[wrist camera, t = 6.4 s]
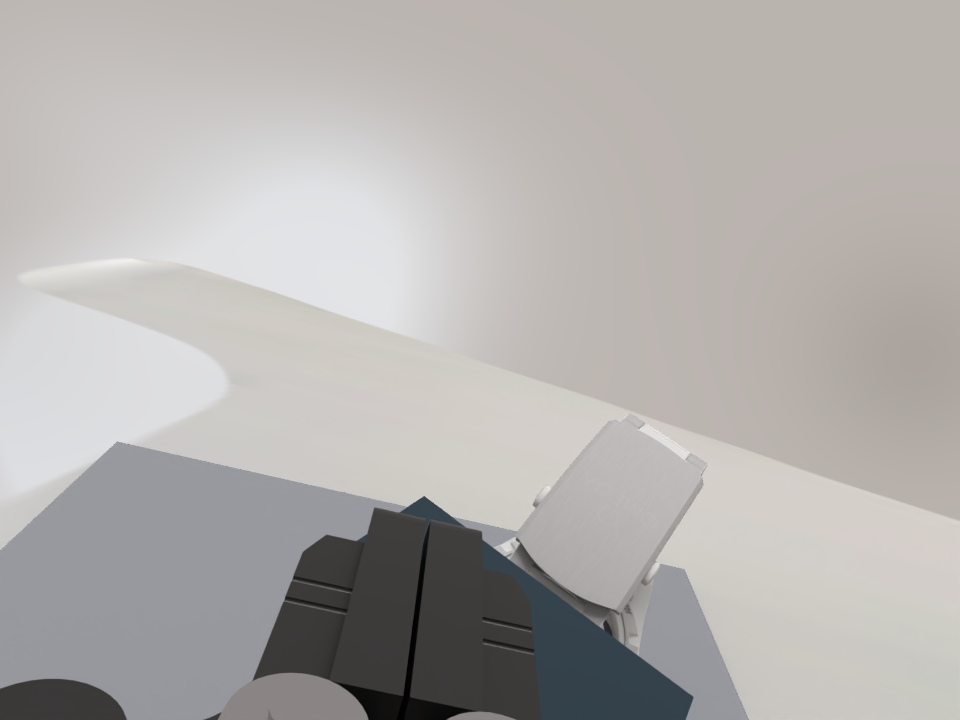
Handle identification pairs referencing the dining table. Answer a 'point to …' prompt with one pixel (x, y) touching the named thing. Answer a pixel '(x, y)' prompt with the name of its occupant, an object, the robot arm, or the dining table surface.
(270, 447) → the dining table surface
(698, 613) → the mat
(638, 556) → the watch
